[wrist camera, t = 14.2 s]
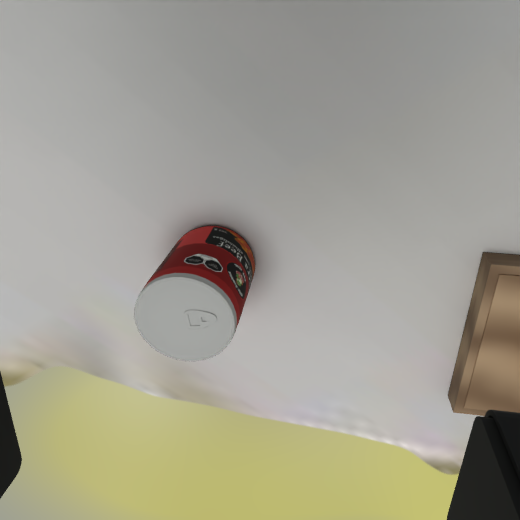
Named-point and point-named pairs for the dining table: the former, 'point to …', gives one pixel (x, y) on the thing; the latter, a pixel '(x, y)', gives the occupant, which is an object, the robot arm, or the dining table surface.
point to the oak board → (490, 341)
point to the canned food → (196, 295)
